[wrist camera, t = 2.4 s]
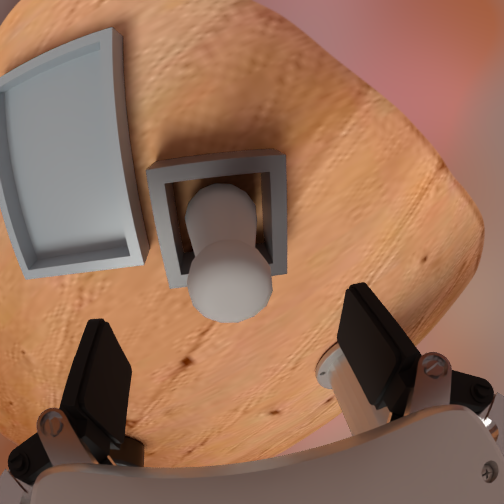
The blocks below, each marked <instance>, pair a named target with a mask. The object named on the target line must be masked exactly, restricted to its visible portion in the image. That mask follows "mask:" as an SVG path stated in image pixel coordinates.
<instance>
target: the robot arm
mask: <svg viewBox="0 0 504 504" xmlns="http://www.w3.org/2000/svg"><path fill="white" fill-rule="evenodd" d="M337 341H338V343H337V344H336V345H334V346H333V347H332V348H331V349H329V350H328V351H327V352H326V353H325V354H324V356H323V357H322V358H321V360H320V361H319V363H318V365H317V367H316V371H315V373H316V378H317V381H318V383H319V384H320V385H321V386H322V387H324V388H327V389H333V391H334V394H335V396H336V398H337V401H338V403H339V405H340V408H341V410H342V412H343V415H344V417H345V419H346V422H347V424H348V426H349V429H350V431H351V433H352V437H350V438H346V439H343V440H340V441H337V442H334V443H331V444H327V445H323V446H320V447H316V448H313V449H309V450H305V451H301V452H297V453H292V454H288V455H284V456H279V457H274V458H268V459H263V460H257V461H250V462H243V463H236V464H227V465H217V466H205V467H185V468H150V467H128V466H117V465H116V464H115V463H114V461H113V460H112V459H111V457H110V456H109V453H110V449H116V450H120V447H121V444H122V443H124V438H125V426H126V416H127V407H128V398H129V390H130V383H131V376H132V369H131V365H130V363H129V362H128V360H127V358H126V356H125V354H124V352H123V351H122V349H121V347H120V345H119V343H118V341H117V339H116V337H115V335H114V333H113V331H112V329H111V327H110V325H109V323H108V322H105V321H104V319H90V320H89V321H88V322H87V325H86V328H85V330H84V333H83V336H82V338H81V341H80V344H79V347H78V350H77V353H76V355H75V357H74V360H73V363H72V366H71V369H70V373H69V376H68V379H67V382H66V386H65V389H64V393H63V397H62V400H61V404H60V408H59V409H57V408H49V409H47V410H45V411H44V412H42V413H41V415H40V416H39V418H38V420H37V433H36V434H34V435H33V436H31V437H30V438H29V439H27V440H26V441H25V442H23V443H22V444H21V445H19V446H18V447H16V448H15V449H14V450H13V451H12V452H11V453H10V455H9V458H8V467H9V470H7V469H5V470H4V472H3V473H2V475H1V476H0V504H504V396H503V395H501V394H499V393H498V392H497V393H496V394H494V391H493V388H492V386H491V384H490V383H489V382H488V381H487V380H485V379H483V378H480V377H476V376H472V375H469V374H465V373H461V372H458V371H454V370H452V368H451V365H450V362H449V361H448V359H447V358H446V357H445V356H443V355H442V354H439V353H437V352H429V353H426V354H424V355H421V354H420V352H419V351H418V349H417V348H416V347H415V345H414V344H413V343H412V341H411V340H410V339H409V337H408V336H407V335H406V333H405V332H404V331H403V329H402V328H401V327H400V325H399V324H398V323H397V322H396V320H395V319H394V318H393V316H392V315H391V314H390V313H389V312H388V310H387V309H386V308H385V306H384V305H383V304H382V303H381V301H380V300H379V299H378V298H377V296H376V295H375V294H374V293H373V292H372V290H371V289H370V288H369V287H368V285H367V284H366V283H364V282H362V283H357V284H352V285H350V287H349V289H347V290H346V293H345V298H344V304H343V309H342V314H341V319H340V324H339V329H338V334H337Z"/></svg>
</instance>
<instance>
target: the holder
mask: <svg viewBox="0 0 504 504" xmlns="http://www.w3.org/2000/svg"><path fill="white" fill-rule="evenodd" d="M249 173H261V190H262V211H263V233H264V243H257V244H255V248H256V249H258V251H259V252H260V253H261V255H262V256H263V257H264V259H265V260H266V261H267V263H268V264H269V266H270V268H271V276H275V275H282V274H287V179H286V155H285V154H283V153H281V152H279V151H277V150H275V149H257V150H244V151H232V152H222V153H213V154H204V155H196V156H188V157H181V158H174V159H168V160H161V161H156V162H154V163H153V164H152V165H151V166H150V167H149V168H148V169H146V175H147V181H148V188H149V193H150V199H151V205H152V210H153V215H154V220H155V225H156V230H157V235H158V240H159V244H160V249H161V253H162V258H163V262H164V266H165V271H166V275H167V279H168V283H169V287H170V289H171V288H180V287H187V279H188V275H189V271H190V267H191V263H192V261H193V259H194V258H195V254H194V251H192V252H184V250H183V244H182V239H181V233H180V228H179V222H178V216H177V210H176V203H175V197H174V190H173V183H172V182H179V181H186V180H194V179H202V178H210V177H219V176H228V175H238V174H249Z"/></svg>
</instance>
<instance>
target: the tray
mask: <svg viewBox="0 0 504 504" xmlns="http://www.w3.org/2000/svg"><path fill="white" fill-rule="evenodd" d="M0 208H1V211H2V215H3V219H4V222H5V225H6V228H7V232H8V235H9V238H10V241H11V243H12V246H13V249H14V252H15V255H16V257H17V260H18V262H19V265H20V267H21V270H22V272H23V275H24V277H25V279H35V278H43V277H51V276H59V275H67V274H75V273H83V272H91V271H99V270H107V269H116V268H124V267H132V266H140V265H144V264H145V261H146V258H147V256H148V253H149V250H150V247H149V243H148V239H147V234H146V230H145V225H144V221H143V216H142V211H141V206H140V201H139V195H138V190H137V184H136V178H135V172H134V166H133V159H132V152H131V145H130V137H129V129H128V120H127V110H126V98H125V84H124V65H123V36H122V35H121V34H120V33H119V32H117V31H116V30H115V29H114V28H113V27H111V28H107V29H104V30H101V31H98V32H95V33H92V34H89V35H86V36H84V37H81V38H78V39H76V40H73V41H70V42H68V43H66V44H63V45H61V46H59V47H56V48H54V49H52V50H50V51H48V52H45V53H43V54H41V55H39V56H37V57H35V58H33V59H31V60H29V61H28V62H26V63H24V64H22V65H20V66H18V67H17V68H15V69H13V70H12V71H10V72H8V73H6V74H5V75H3V76H2V77H0Z"/></svg>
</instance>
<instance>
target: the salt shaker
mask: <svg viewBox="0 0 504 504" xmlns="http://www.w3.org/2000/svg"><path fill="white" fill-rule="evenodd" d="M185 222H186V226H187V230H188V234H189V237H190V240H191V243H192V247H193V251H194V254H195V258H194V259H193V261H192V263H191V267H190V271H189V275H188V279H187V287H188V291H189V294H190V297H191V300H192V303H193V306H194V307H195V308H196V309H197V310H198V311H199V312H200V313H201V314H202V315H203V316H204V317H206V318H209V319H212V320H215V321H218V322H221V323H229V322H240V321H243V320H246V319H248V318H251V317H254V316H255V315H256V314H257V313H258V312H260V311H261V310H262V309H263V308H264V307H265V306H267V303H268V301H269V299H270V296H271V294H272V291H273V290H272V278H271V268H270V266H269V264H268V263H267V261H266V260H265V259H264V257H263V256H262V255H261V253H260V252H259V251H258V249H256V248H255V240H256V227H257V215H256V205H255V204H254V202H253V201H252V200H251V198H250V197H249V195H248V194H247V193H246V192H245V191H243V190H241V189H239V188H238V187H236V186H234V185H232V184H221V183H214V184H212V185H209V186H207V187H205V188H202V189H200V190H199V191H198V192H197V193H196V195H195V196H194V197H193V198H192V199H191V200H190V202H189V203H188V207H187V211H186V215H185Z"/></svg>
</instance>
